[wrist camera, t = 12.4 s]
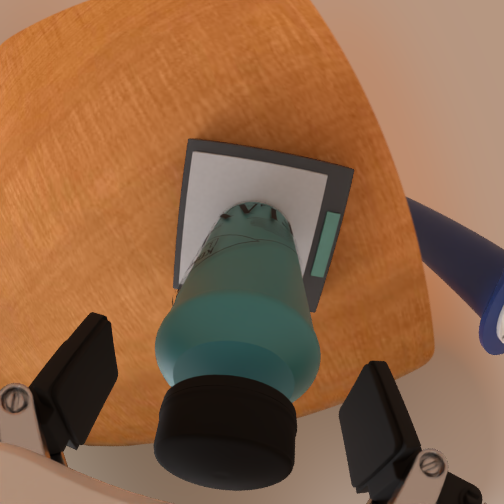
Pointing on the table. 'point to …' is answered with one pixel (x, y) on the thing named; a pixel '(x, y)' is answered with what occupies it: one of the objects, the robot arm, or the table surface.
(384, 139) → the table surface
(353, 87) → the table surface
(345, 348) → the table surface
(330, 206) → the scale
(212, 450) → the beverage bottle
